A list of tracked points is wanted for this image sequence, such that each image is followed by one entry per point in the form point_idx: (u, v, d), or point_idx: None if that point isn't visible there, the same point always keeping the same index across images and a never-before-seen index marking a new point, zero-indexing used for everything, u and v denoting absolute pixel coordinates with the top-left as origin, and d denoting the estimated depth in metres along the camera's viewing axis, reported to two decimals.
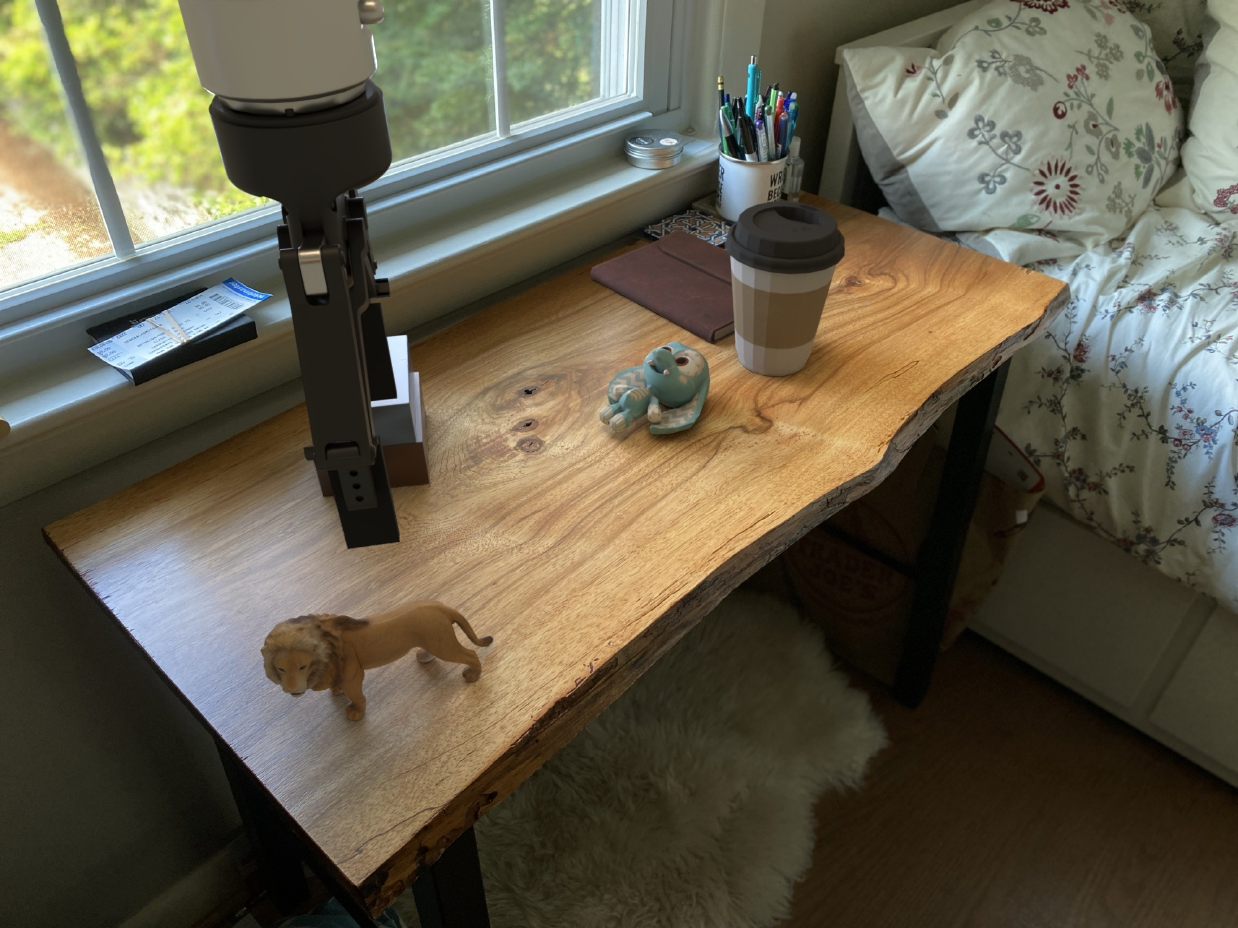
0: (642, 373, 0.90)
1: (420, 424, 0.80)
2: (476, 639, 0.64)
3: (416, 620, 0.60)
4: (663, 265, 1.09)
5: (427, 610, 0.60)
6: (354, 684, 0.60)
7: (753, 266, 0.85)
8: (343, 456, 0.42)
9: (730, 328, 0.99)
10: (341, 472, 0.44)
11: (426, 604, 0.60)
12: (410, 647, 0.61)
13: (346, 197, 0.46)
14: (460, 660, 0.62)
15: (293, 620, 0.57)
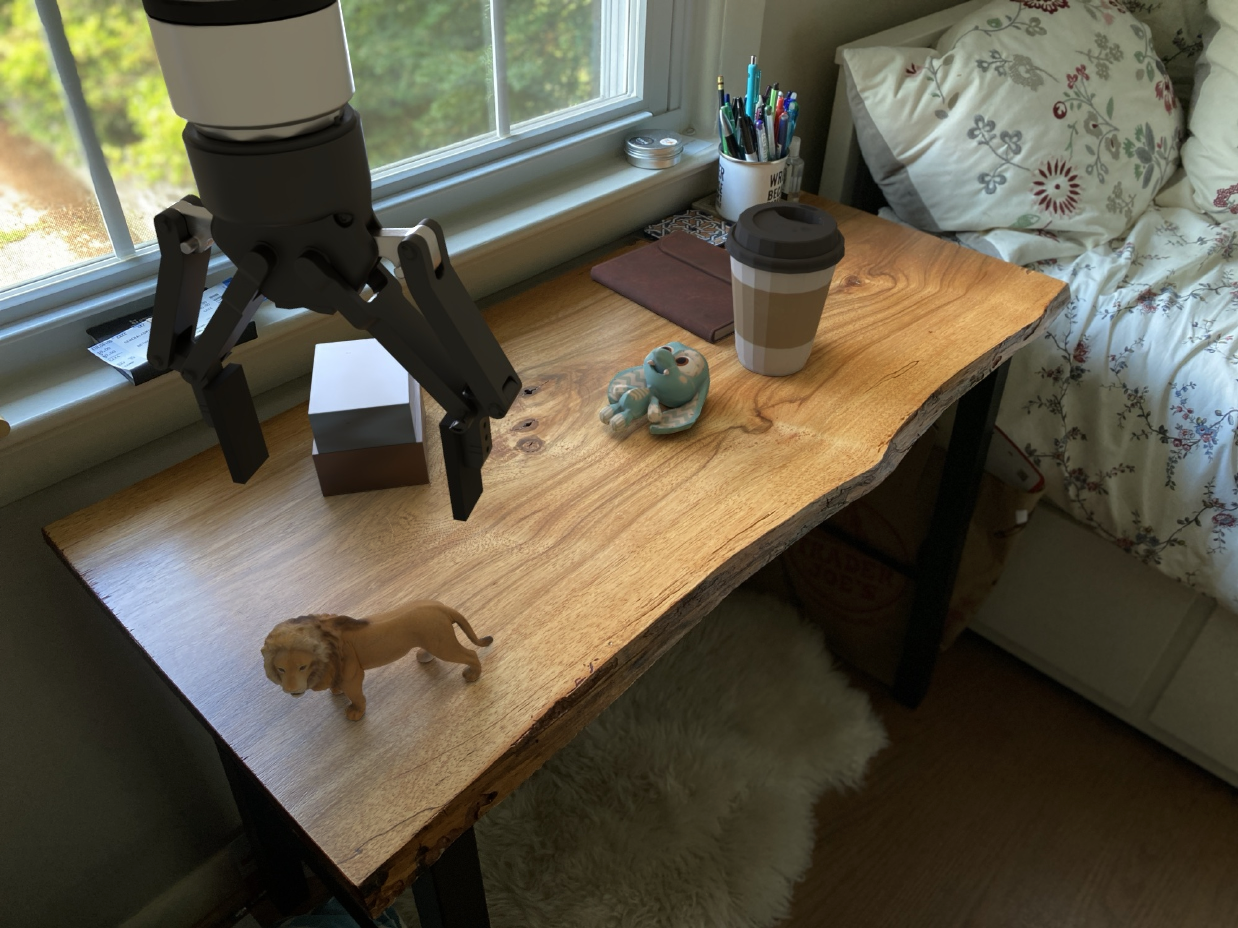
0: (642, 373, 0.90)
1: (420, 424, 0.80)
2: (476, 639, 0.64)
3: (416, 620, 0.60)
4: (663, 265, 1.09)
5: (427, 610, 0.60)
6: (354, 684, 0.60)
7: (753, 266, 0.85)
8: (512, 392, 0.47)
9: (730, 328, 0.99)
10: (480, 428, 0.48)
11: (426, 604, 0.60)
12: (410, 647, 0.61)
13: None
14: (460, 660, 0.62)
15: (293, 620, 0.57)
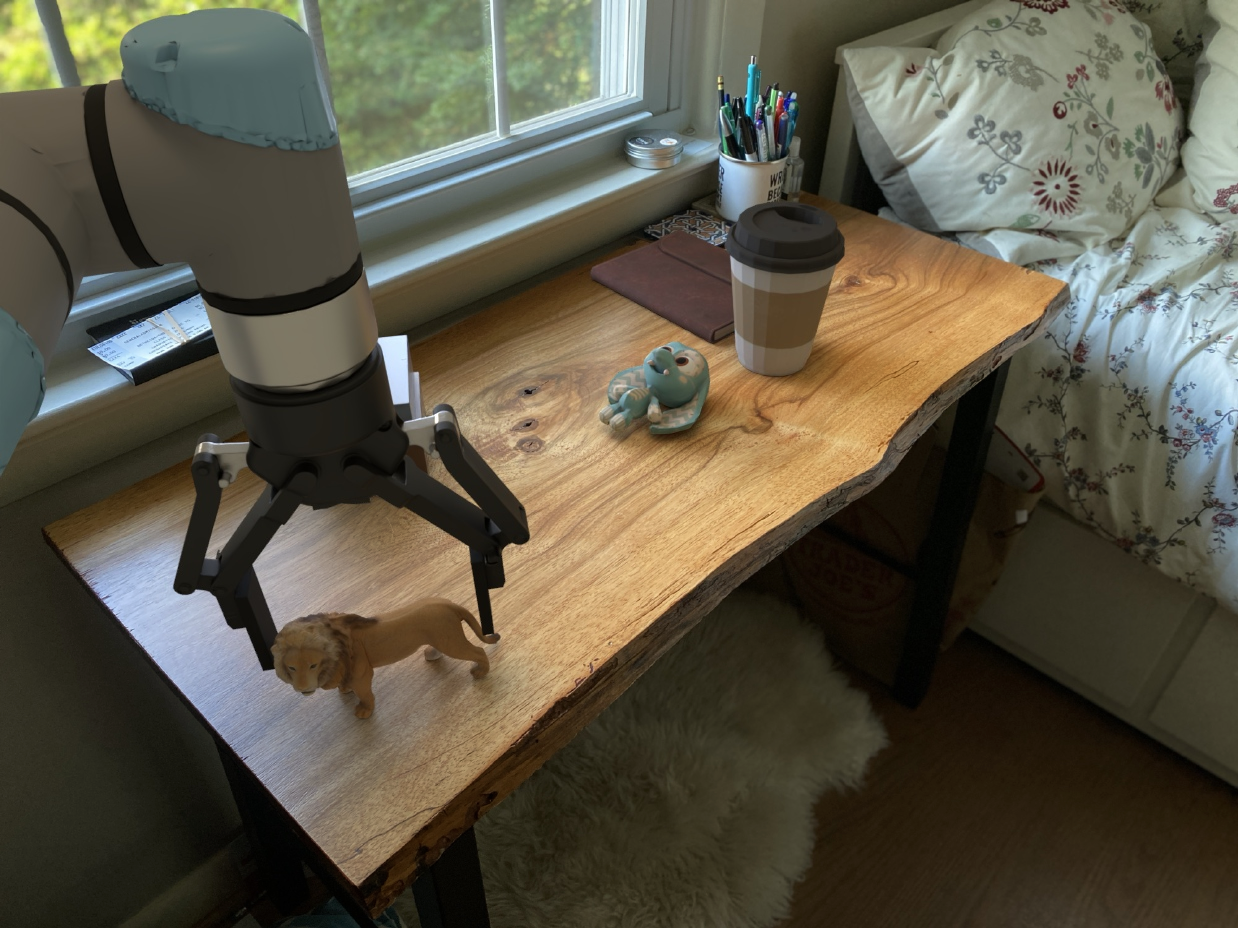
0: (642, 373, 0.90)
1: None
2: (484, 636, 0.64)
3: (425, 618, 0.60)
4: (663, 265, 1.09)
5: (435, 608, 0.60)
6: (364, 682, 0.60)
7: (753, 266, 0.85)
8: (525, 519, 0.56)
9: (730, 328, 0.99)
10: None
11: (434, 601, 0.61)
12: (419, 645, 0.61)
13: None
14: (469, 657, 0.63)
15: (303, 619, 0.57)
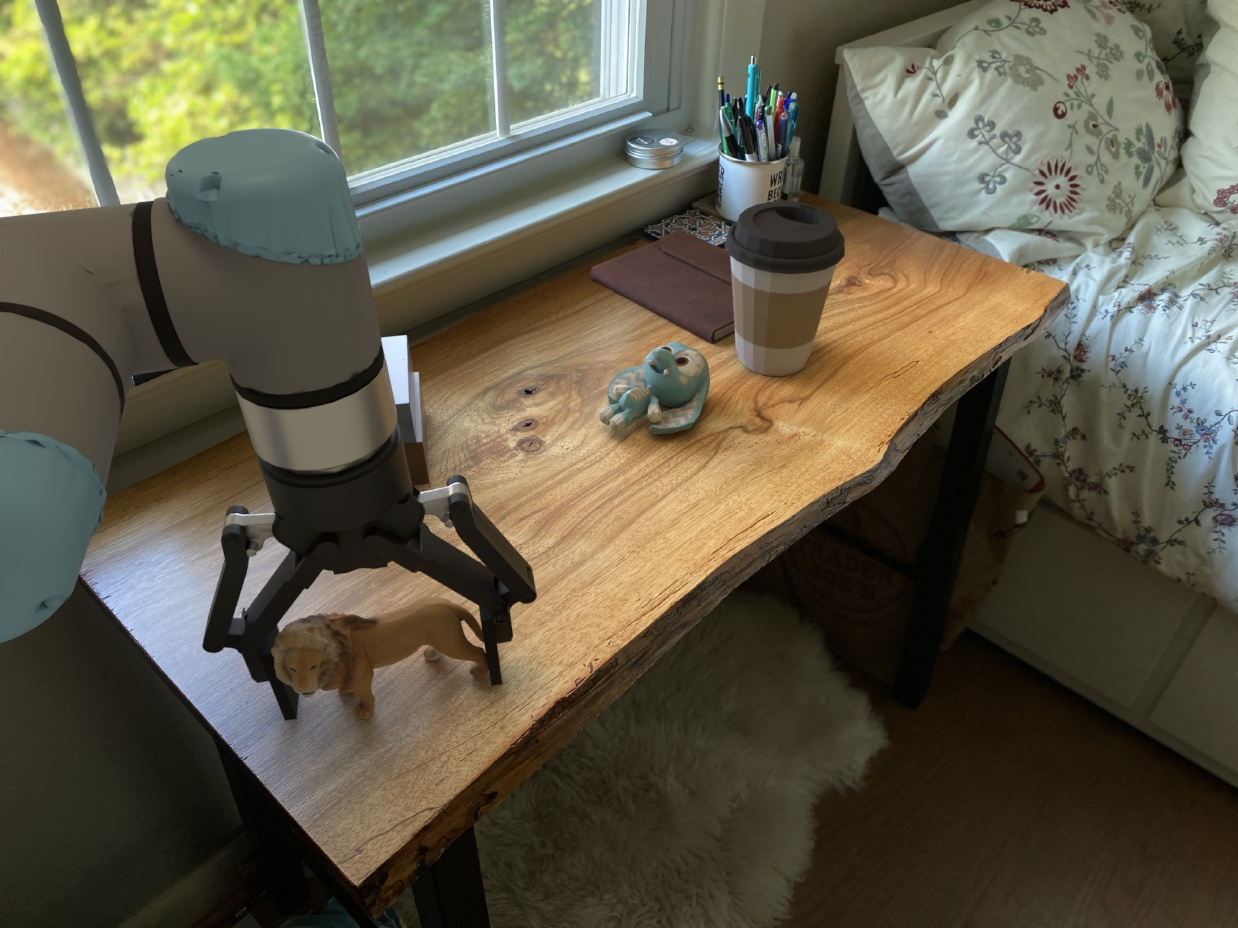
0: (642, 373, 0.90)
1: (420, 424, 0.80)
2: None
3: (425, 618, 0.60)
4: (663, 265, 1.09)
5: (435, 608, 0.60)
6: (364, 683, 0.60)
7: (753, 266, 0.85)
8: (532, 578, 0.59)
9: (730, 328, 0.99)
10: None
11: (434, 602, 0.61)
12: (419, 645, 0.61)
13: None
14: (468, 657, 0.63)
15: (303, 620, 0.57)
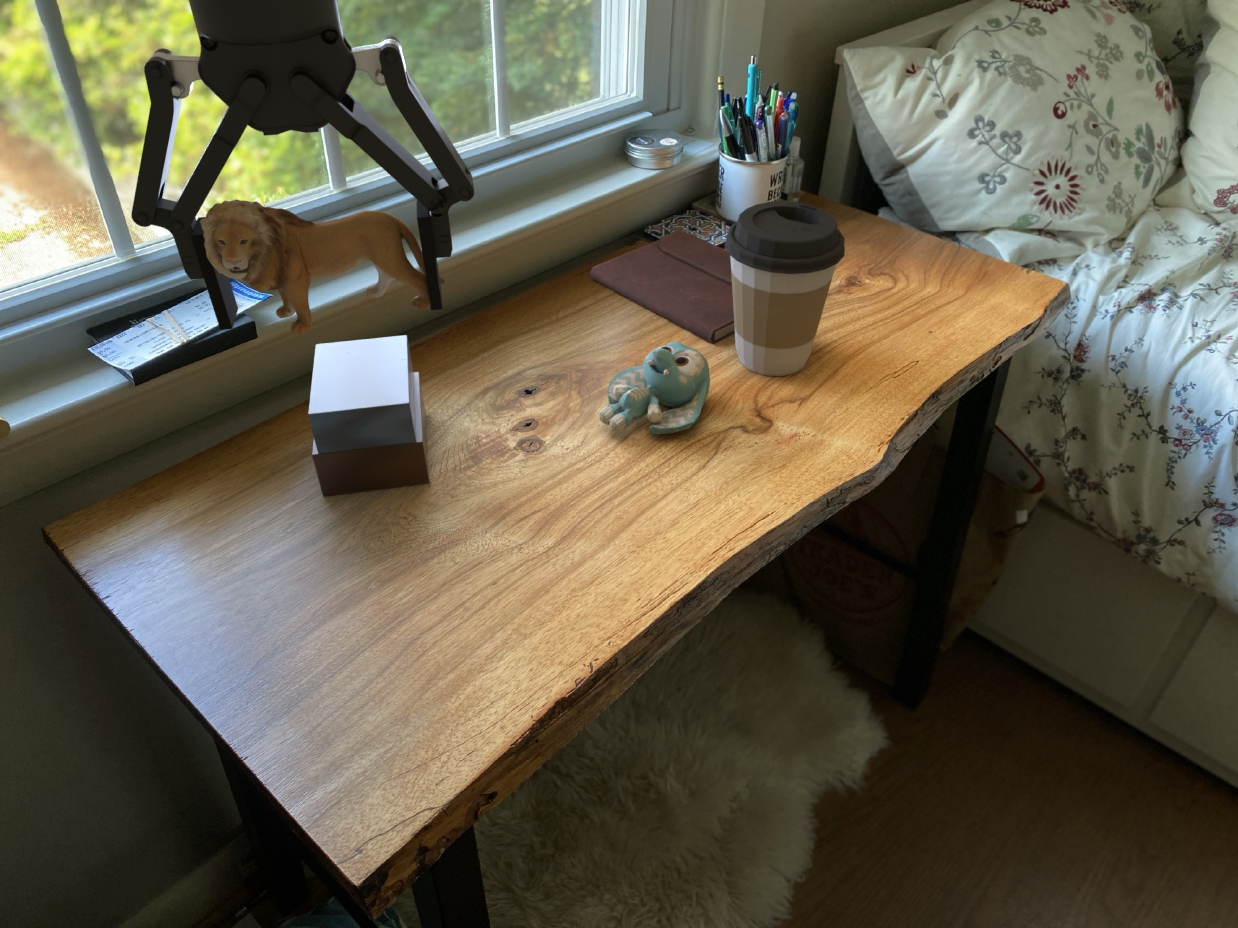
0: (642, 373, 0.90)
1: (420, 424, 0.80)
2: None
3: (363, 222, 0.59)
4: (663, 265, 1.09)
5: (374, 215, 0.59)
6: (299, 287, 0.59)
7: (753, 266, 0.85)
8: (471, 179, 0.58)
9: (730, 328, 0.99)
10: (448, 218, 0.59)
11: (373, 211, 0.60)
12: (357, 256, 0.60)
13: None
14: (409, 279, 0.61)
15: (235, 200, 0.56)
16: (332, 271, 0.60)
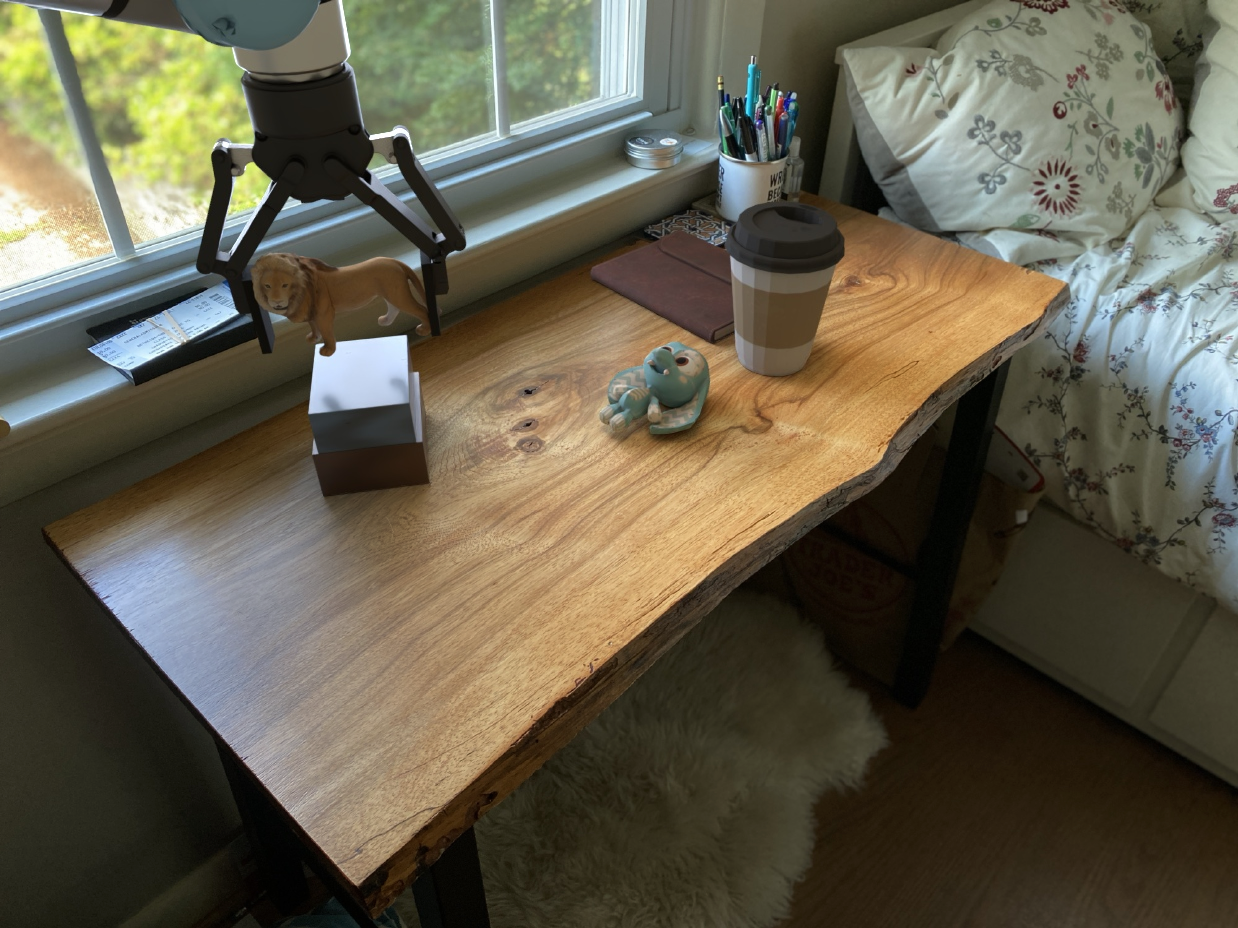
0: (642, 373, 0.90)
1: (420, 424, 0.80)
2: None
3: (377, 267, 0.74)
4: (663, 265, 1.09)
5: (385, 261, 0.74)
6: (326, 319, 0.74)
7: (753, 266, 0.85)
8: (463, 233, 0.73)
9: (730, 328, 0.99)
10: (445, 264, 0.74)
11: (385, 257, 0.75)
12: (372, 294, 0.75)
13: None
14: (413, 312, 0.76)
15: (277, 252, 0.71)
16: (352, 306, 0.75)
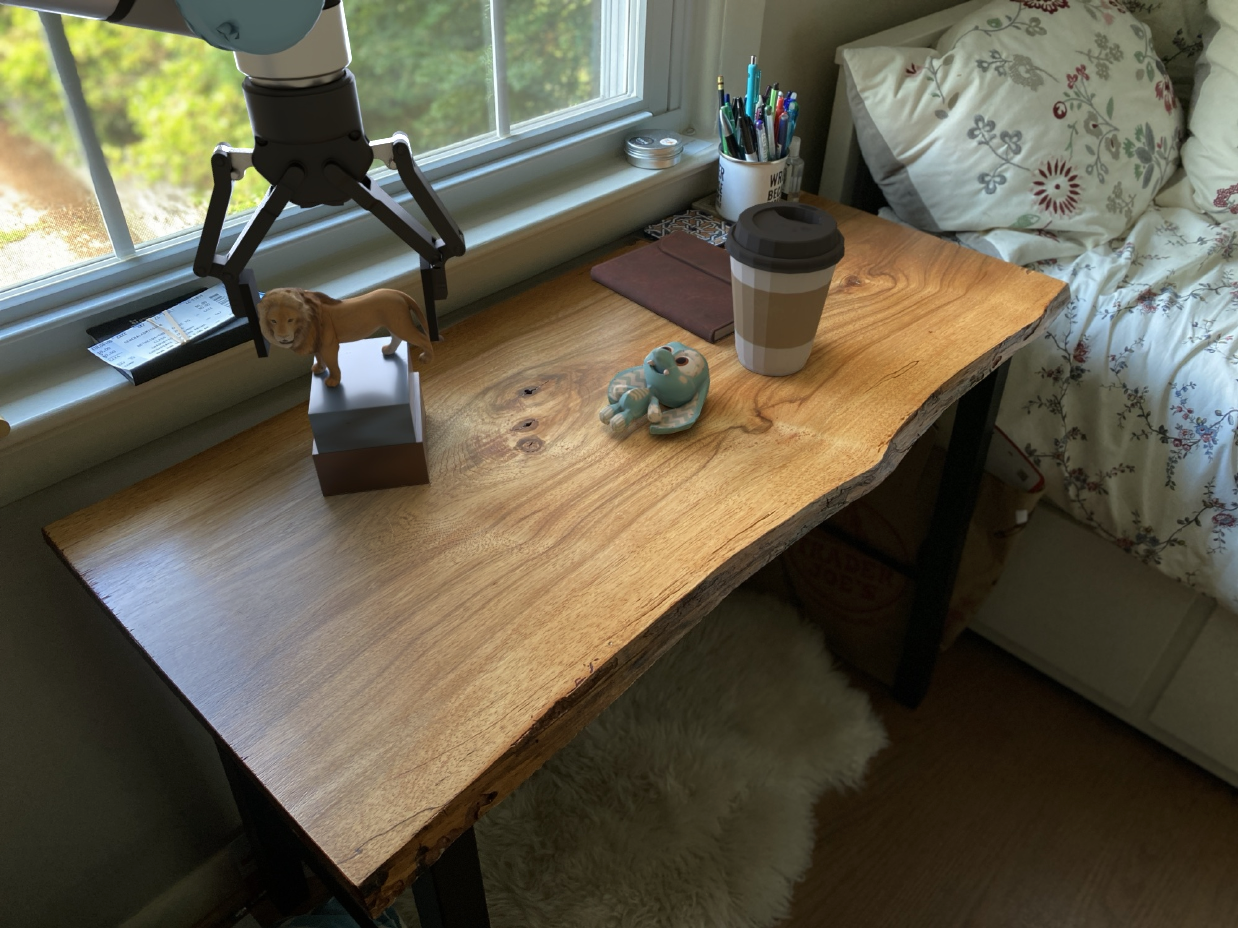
0: (642, 373, 0.90)
1: (420, 424, 0.80)
2: None
3: (380, 299, 0.75)
4: (663, 265, 1.09)
5: (388, 293, 0.76)
6: (331, 351, 0.75)
7: (753, 266, 0.85)
8: (463, 239, 0.73)
9: (730, 328, 0.99)
10: None
11: (387, 289, 0.76)
12: (375, 325, 0.77)
13: None
14: (416, 341, 0.78)
15: (282, 287, 0.72)
16: (356, 337, 0.76)
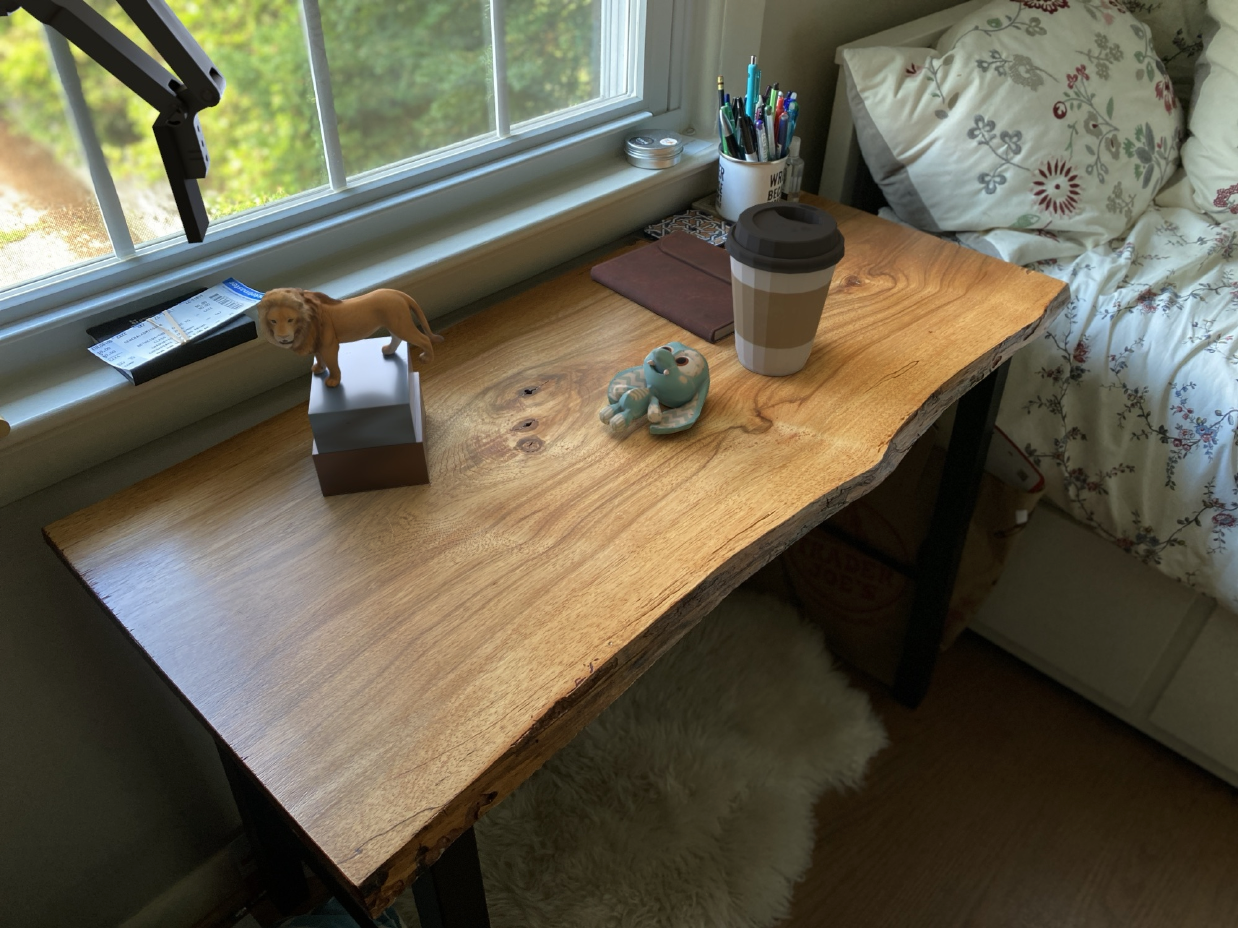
0: (642, 373, 0.90)
1: (420, 424, 0.80)
2: (429, 330, 0.79)
3: (380, 299, 0.75)
4: (663, 265, 1.09)
5: (388, 293, 0.76)
6: (331, 351, 0.75)
7: (753, 266, 0.85)
8: (219, 82, 0.49)
9: (730, 328, 0.99)
10: (195, 129, 0.49)
11: (387, 289, 0.76)
12: (375, 325, 0.77)
13: None
14: (416, 341, 0.78)
15: (282, 288, 0.72)
16: (356, 337, 0.76)
